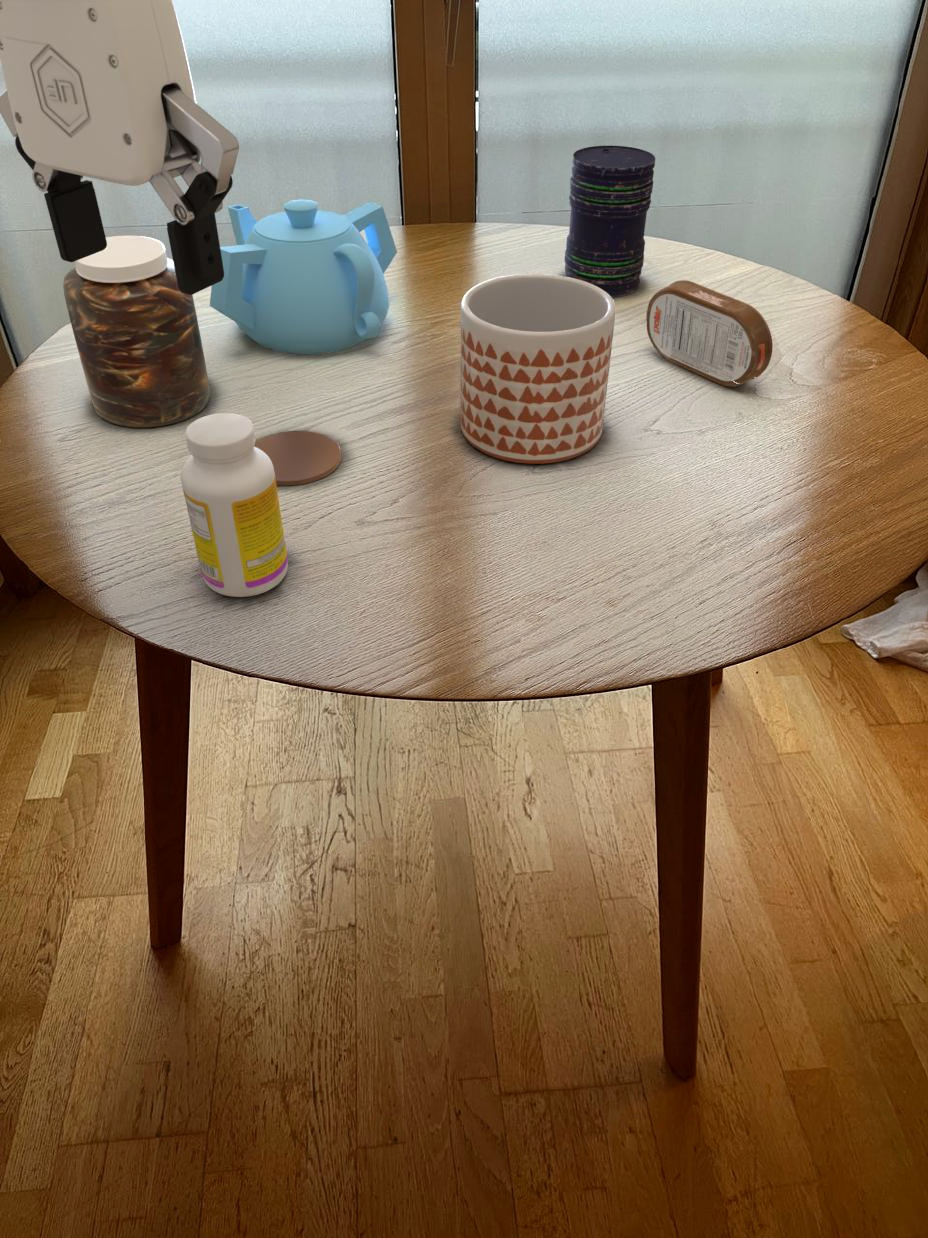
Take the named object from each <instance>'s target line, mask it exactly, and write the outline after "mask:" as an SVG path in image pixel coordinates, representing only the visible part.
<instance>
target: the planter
mask: <svg viewBox="0 0 928 1238" xmlns="http://www.w3.org/2000/svg"><path fill="white" fill-rule="evenodd" d="M616 309H617V307H616V303H615V300H614V299H613V297H611V296H610V295H609V294H608V293H606V292H605V291H604V290H602V289H601V288H599V287H597V286H595V285H593V284H590V283H588V282H585V281H582V280H578V279H574V278H570V277H564V275H558V274H549V273H548V274H547V273H521V274H520V273H519V274H511V275H504V276H499V277H494V278H491V279H487V280H485V281H483V282H480V283H479V284H477V285H475V286H473V287H472V288H470V289H469V290H468V291H466V293H465V294H464V296H463V297H462V299H461V303H460V430H461V432H462V435H463V436H464V438H465V440H466V441H467V442H468V443H469V444H470V445H471V446H473V448H475V449H477V450H478V451H480V452H481V453H484V454H486V455H488V456H491V457H492V458H495V459H499V460H502V461H506V462H512V463H518V464H527V465H528V464H529V465H531V464H532V465H540V464H541V465H543V464H553V463H558V462H560V463H561V462H564V461H568V460H571V459H574V458H576V457H579V456H581V455H583V454H585V453H587V452H588V451H590V450H591V449H592V448H593V447H595V445H596V444H597V443H598V442H599V441H600V439H601V436H602V433H603V426H604V420H605V419H604V418H605V409H606V401H607V392H608V383H609V375H610V366H611V357H612V356H611V355H612V347H613V340H614V329H615V320H616Z"/></svg>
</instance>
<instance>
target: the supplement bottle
mask: <svg viewBox="0 0 928 1238" xmlns="http://www.w3.org/2000/svg"><path fill="white" fill-rule="evenodd" d="M185 437H186V439H185V440H186V445H187V449H188V451H189V452H190V453H191V456H189V457H188V458H187V460H186V461H185V462H184V464H183V466H182V468H181V472H180V482H181V483H180V484H181V488H182V491H183V495H184V496H183V497H184V500H185V506H186V510H187V514H188V519H189V523H190V527H191V532H192V537H193V540H194V545H195V551H196V554H197V559H198V563H199V569H200V572H201V576H202V578H203V581H204V583H205V584H206V585H207V586H208V588H210V589H211V590H212V591H214V592H215V593H217V594H220V595H223V596H227V597H235V598H245V597H253V596H257V595H261V594H264V593H266V592H268V591H270V590H272V589H274V588H275V587H276V586H278V585H279V584H280V583H281V582H282V580H284V578H285V577H286V575H287V572H288V568H289V560H288V552H287V545H286V540H285V532H284V525H283V519H282V513H281V506H280V500H279V499H280V498H279V492H278V485H276V479H275V472H274V467H273V464H272V462H271V460H270V458H269V457H268V456H267V455H266V454H265V453H264V452H263V451H262V450H260V449H258V448H256V447H254V445H255V441H257V440H256V439H257V437H256V433H255V427H254V424H253V422H252V421H251V420H250V419H249V418H247V417H246V416H243V415H241V414H238V413H237V414H236V413H231V412H230V413H225V412H224V413H223V412H222V413H213V414H208V415H206V416H203V417H200V418H198V419H195V420H194V421H193V422H191V423H190V424H189V425H188V426H187V428H186V430H185Z"/></svg>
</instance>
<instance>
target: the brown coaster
mask: <svg viewBox="0 0 928 1238" xmlns="http://www.w3.org/2000/svg"><path fill="white" fill-rule="evenodd" d="M254 447H256V448H258V449H260V450H262V451H263V452H264V453H265V454H266V455H267V456H268V457H269V458H270V460H271V462H272V464H273V467H274V472H275V479H276V485H277V486H299V485H305V484H310V483H313V482H316V481H318V480H322V479H324V478H326V477H327V476H329V475H330V474H331V475H332V473H333V472H334V471H335V470H336V469H337V468H338V467H339V466H340V464H341V462H342V449H341V446H340V445H339V444H338V442H336V441H335V440H334V439H333V438H332V437H329V436H328V435H325V434H323V433H319V432H315V431H309V430H287V431H279V432H276V433H272V434H268V435H266V436H263V437H261V438H259V439H257V440H256V441H255V445H254Z"/></svg>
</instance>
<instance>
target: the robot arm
mask: <svg viewBox="0 0 928 1238" xmlns="http://www.w3.org/2000/svg"><path fill="white" fill-rule="evenodd" d="M0 64H1V69H2V74H3V78H4V79H3V80H4V83H5V87H6V88H5V89H6V91H5V92H4V93H3V94H2V95H1V96H0V115H1V117H2V119H3V121H4V122H5V124H6V127H7V129H8V130H9V131H10V133H11V135H12V137H13V138H15V139H14V144H15V147H16V148H15V149H16V150H17V152H18V153H19V155H20V156H21V157H22V159H23V160H24V161H25V163H26V164H27V165H28V167H29V168H30V169H31V170H32V172H31V174H32V175H31V177H32V181H33V184H34V186H35V187H36V188H37V189H38V190H39V191H40V192H43V196H44V199H45V203H46V208H47V211H48V215H49V218H50V222H51V226H52V229H53V233H54V237H55V241H56V244H57V245H56V246H57V249H58V252H59V255H60V258H61V260H63V261H65V262H68V263H75V262H74V261H77V260H79V259H82V258H85V257H87V256H90V255H92V254H95V253H97V252H100V251H102V250H104V249H105V248H106V247H107V241H106V237H107V236H106V233H105V229H104V225H103V219H102V215H101V212H100V207H99V203H98V199H97V194H96V190H95V188H94V183H93V181H92V180H87V179H85V180H83V178H84V177H86V178H91V179H95V180H99V181H105V182H107V183H108V182H109V183H113V184H119V185H124V186H130V187H135V186H137V187H138V186H141V185H145V184H147V183H148V182H149V183H150V185H151V186H152V188H153V189H154V191H155V192H156V195H158V196H159V198H160V199H161V201H162V203H163V204H164V205H165V207H166V209H167V210H168V211H169V212H170V215H171V216H172V217H173V220H172V221H169V222H167V223H166V231H167V237H168V241H169V242H168V243H169V247H170V252H171V257H172V258H171V259H172V260H173V263H174V268H175V273H176V279H177V284H178V288H179V290H180V292H181V293H184V294H187V295H193V296H194V295H195V294H197V293H199V292H201V291H203V290H206V289H208V288H209V287H210V288H211V287H212V285H214V284H216V283H218V282H220V281H222V280H223V278H224V269H223V263H222V256H221V250H220V247H221V245H220V238H219V232H218V226H217V225H218V224H217V219H216V214H217V213H218V212H220V211H222V209H223V207H224V202H223V201H224V200H225V198H226V197H227V195H228V193H229V192H230V190H231V189H232V187H233V183H234V182H233V178H232V175H234V170H235V167H236V162H237V158H238V154H239V150H240V143H239V140H238V138H237V137H236V136H235V134H233V133H232V132H231V131H230V130H228V129H227V128H226V127H225V126H224V125H222V123H220V122H219V121H218V120H217V119H215V117H213V116H212V115H210V114H209V113H208V112H207V111H206V110H205V109H203V108H202V107H201V106H200V105H199V104H198V103H197V100H196V94H195V93H196V92H195V88H194V83H193V79H192V73H191V68H190V64H189V60H188V55H187V50H186V47H185V43H184V37H183V34H182V30H181V27H180V22H179V19H178V15H177V11H176V8H175V4H174V2H173V0H0ZM178 177H181V178H182V179H183V181H184V183H185V184H186V185H187V187H188V188H187V190H186V191H185V193H184V191H183V190H182V188H181V187H180V185H179V183H177V181H176V180H175V178H178ZM82 180H83V181H82ZM44 192H45V193H44Z"/></svg>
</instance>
